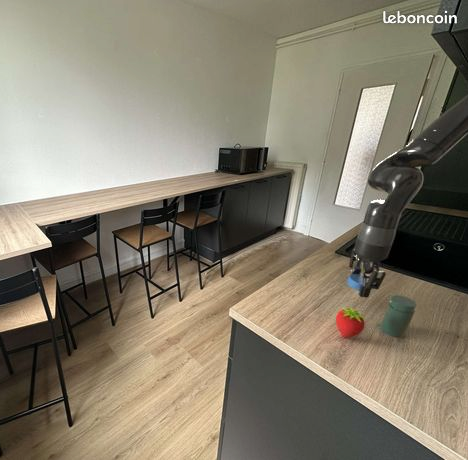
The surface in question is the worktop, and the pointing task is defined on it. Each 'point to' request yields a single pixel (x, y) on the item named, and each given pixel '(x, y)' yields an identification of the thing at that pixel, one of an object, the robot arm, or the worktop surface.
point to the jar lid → (355, 281)
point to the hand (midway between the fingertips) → (358, 289)
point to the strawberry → (349, 322)
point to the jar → (398, 316)
